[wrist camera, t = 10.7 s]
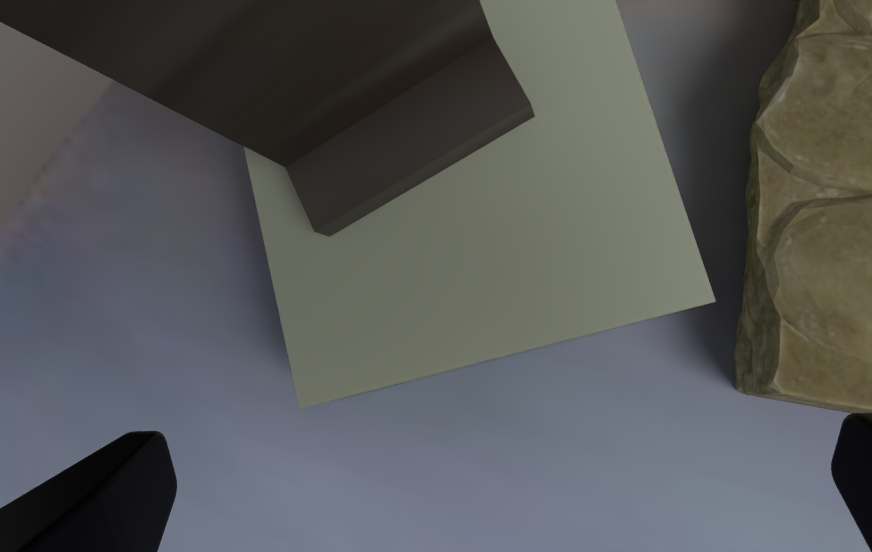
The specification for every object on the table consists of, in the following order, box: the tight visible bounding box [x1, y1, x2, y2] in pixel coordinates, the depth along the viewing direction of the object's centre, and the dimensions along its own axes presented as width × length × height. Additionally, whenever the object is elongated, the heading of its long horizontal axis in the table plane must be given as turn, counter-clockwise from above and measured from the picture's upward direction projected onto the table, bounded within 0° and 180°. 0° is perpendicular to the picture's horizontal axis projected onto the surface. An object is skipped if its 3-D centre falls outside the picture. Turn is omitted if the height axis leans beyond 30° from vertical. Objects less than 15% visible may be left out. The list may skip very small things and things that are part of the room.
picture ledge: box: [244, 0, 716, 409], centre depth 18 cm, size 14×12×4 cm
